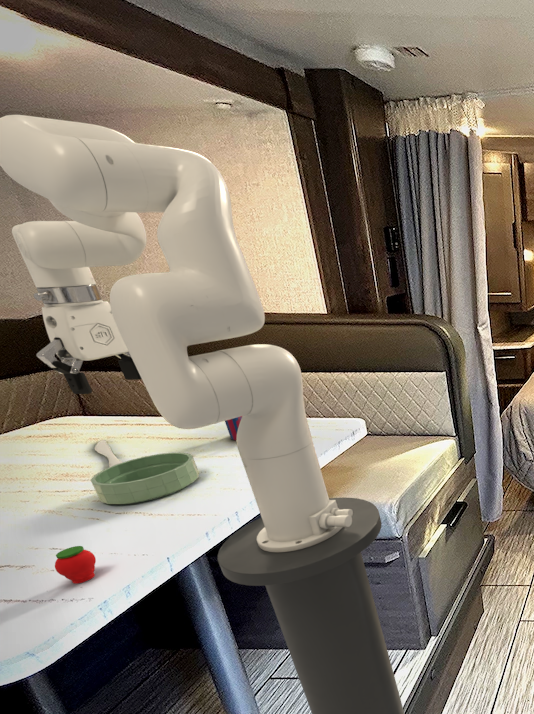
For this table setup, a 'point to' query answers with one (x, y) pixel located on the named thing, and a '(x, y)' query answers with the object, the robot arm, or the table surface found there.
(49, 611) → the table surface
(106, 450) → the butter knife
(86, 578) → the strawberry
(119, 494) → the bowl
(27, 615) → the table surface
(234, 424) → the mug
